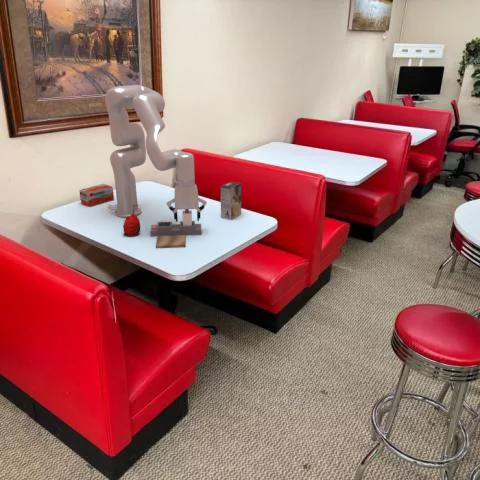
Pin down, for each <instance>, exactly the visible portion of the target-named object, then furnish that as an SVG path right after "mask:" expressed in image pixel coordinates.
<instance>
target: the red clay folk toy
mask: <svg viewBox="0 0 480 480" xmlns="http://www.w3.org/2000/svg"><path fill="white" fill-rule="evenodd" d="M131 205H132V204H131ZM134 206H138V207H139V205H138V203H137V205H135V203H134V205H133V210H132V211H133V213H132V215H130V216H127V217H125V219H124V221H123V225H122V228H123V234H124V236H128V237H134V236H137V235H140V232H141V223H140V219H139V218H138V215H137V216H136V214H134Z"/></svg>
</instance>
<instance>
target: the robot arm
mask: <svg viewBox="0 0 480 480" xmlns="http://www.w3.org/2000/svg"><path fill="white" fill-rule="evenodd" d="M104 101H105V107H106V110H107V114H108V119H109V122H108V123H109V130H110V137H111V138H110V139H111V142H112V144H113V146H116V147H124V148H118V149H117V150H114V151H113V152H111V154H110V156H109V162H110V164H111V167H112V168H111V169H112V172H113V179H114V185H115V193H116V204H115V205H108V210H110V211H114V213H115V214H114V215H115V216H116V217H120V218H126V217H127V216H130V215H132V213H133V211H132V210H133V205H134V203H135V205H137V204H138V197H137V196H138V195H137V184H136V177H135V174H134V172H133V171H132V170H131V169H132V168H136V167H140V166H142V165H144V164H145V163H146V160H147V157H148V158H149V160H150V162H151V163H152V165H153V167H154V168H155V169H156V170H157V171H160V172H163V171H169V170H171V169H175V171H176V172H175V173H176V179H174V180H172V183H173V184H176V185H175V187H174V198H173V199H170V200H169V201H166V206H167V207H168V209H169V210H170V212H172V213H173V219H174V220H175V222H176V223H177V222H178V217H179V216H178V210H182V211H183V210H185V209H189V210H196V220H197V222H199V221H200V219H201V212H202V211H203V210H204V209H205V207H206V206H207V201H206V200H205V199H202V198H200V197H199V191H198V187H197V184H196V183H195V181H196V180H195V157H194V154H193V153H191V152H185V151H183V150H180V149H176V148H174V149H170V150H166V151H161V149H160V147H159V144H158V135H159V134H160V133H161V132H163V131H164V130H165V127H166V124H165V122H164V120H163V117H162V116H161V114H160V112H161V113H162V112H163V111H164V109H165V107H166V101H165V99H164V97H163V96H162V94H160V93H159V92H158V91H156V90H153V89H151V88H149V87H146V86H143V85H140V84H131V85H130V84H129V85H117V86H113V87H111V88H109V89H108V90H107V91H106V94H105V97H104ZM130 106H131V107H133V110H134V111H135V113H136V114H137V115H136V116H137V117H138V119H139V120H140V123H141V124H142V125H140V124H139V123H138V122H130V120H129V118H130V116H129V114H128V111H127V110H126V108H125V107H130ZM143 128H144V129H143ZM144 130H145V132H146V136H145V132H144ZM125 146H127V147H125ZM173 203H174V206H172V204H173ZM200 203H201V205H200ZM131 204H132V205H131ZM199 205H200V206H199ZM134 214H136V216H137V217H138V216H139V215H140V214H142V208H140V207H139V205H138V206H134Z"/></svg>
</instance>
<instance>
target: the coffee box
mask: <svg viewBox="0 0 480 480" xmlns="http://www.w3.org/2000/svg"><path fill="white" fill-rule="evenodd" d="M219 189H220V218H221V219H225V220H229V221H232V220H234V219H236V218H238V217H239V216H241V215H242V183H241V182H234V181H229V182H227V183H225V184H221V185H220V187H219Z"/></svg>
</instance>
